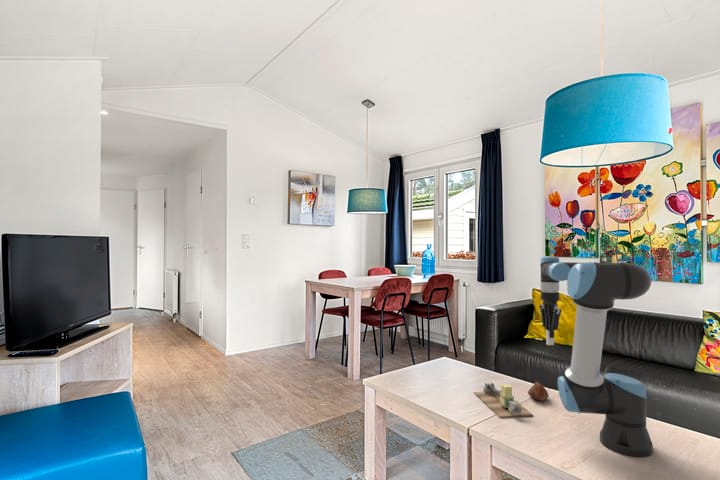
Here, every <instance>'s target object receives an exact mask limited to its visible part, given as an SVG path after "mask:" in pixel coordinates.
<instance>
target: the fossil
mask: <svg viewBox="0 0 720 480" xmlns="http://www.w3.org/2000/svg"><path fill="white" fill-rule="evenodd" d="M531 386H532V387H530V388H529V389H528V391H527V394H528V395H529V396H530V397H531V398H532V399H535V400H536V401H540V402H544V401H545V400H547V399H548V398H550V397H549V392H548V391H547V389H546V388H545V387H544V385H543V384H542V383H540V382H537V381H535V382H534V384H533V385H531Z"/></svg>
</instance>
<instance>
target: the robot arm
mask: <svg viewBox="0 0 720 480" xmlns="http://www.w3.org/2000/svg"><path fill="white" fill-rule="evenodd" d="M539 266H540V291H541V292H540V300H541V301H542V304H539V310H540V314H541V323H542V327H543V328H544V329H545V336H546V339H545V341H546V343H545V344H546V345H547V346H554V345H555V331H558V329H559V323H560V316H561V313H562V308H559V307H558V302H559V301H560V292H559V291H560V282H564V281H566V286H567V287H566V290H567V294H568V296H569V297H570V298H571V299H572V302H573V304H574V305H575V306H576V313H575V321H574V322H575V324H574V332H573V340H572V341H573V342H572V353H571V361H570V366H568V367H567V368H566V369H565V372H564V375H561V376H558V378H557V389H558V395H559V398H560V401H561V404H562V405H563V408H564V409H565V410H566V411H568V412H572V413H577V414H593V415H594V414H596V415H597V414H598V415H605V417H604V418H605V419H604V422H603V424H602V427H601V430H600V432H599V442H600V443H601V444H602V445H603V446H604V447H606V448H607V449H609V450H611V451H614V452H616V453H619V454H621V455H625V456H631V457H636V458H637V457H639V458H641V457H643V458H644V457H649V456H651V455H652V454H653V453H654V445H653V441H652V440H651V437H650V433H649V431H648V429H647V398H648V397H647V392H646V389H647V388H646V386H645V384H644V383H643V382H641V381H640V380H638V379H636V378H634V377H631V376H627V375H625V374H621V373H612V372H609V373H606V374H605V375H604V377H603V376H602V374H600V370H601V363H602V362H601V361H602V355H603V354H602V353H603V345H604V340H605V339H604V338H605V330H606V322H607V315H608V314H607V313H608V311H610V310H612V309H613V308H614V304H615V300H634V299H637V298H639V297H642V296H643V295H645V294H646V293H647V292H648V291H649V290H650V288H651V285H652V278H651V275H650V273H649V272H648V270H647V269H646V268H644V267H642V266H641V265H639V264H638V265H637V264H635V263H629V262H596V261H594V262H592V261H588V262H570V261H569V262H568V261H567V262H566V261H565V262H564V261H563V262H562V261H561V262H560V258H559V257H558V256H542V257H541V258H540V264H539Z"/></svg>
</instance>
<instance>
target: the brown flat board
mask: <svg viewBox="0 0 720 480" xmlns="http://www.w3.org/2000/svg"><path fill="white" fill-rule="evenodd" d="M473 394H474V395H475V396H476V397H477V398H478V399H479V400H480V401H481V402H482V403H484V405H485V406H486V407H488V408H489V409H490V410H491V411H492V412H493V413H494V414H495V415H496V416H497V417H498V418H499V419H509V418H510V419H511V418H526V417H527V418H528V417H530V418H531V417H534V414H533V413H531V411H529V410H528V409H527V408H525V407H524V406H523V405H522V403H520V401H518V400H516V399H514V400H513V399H506V406H507V407H506V408H504V407H503V406H502V405H501V404H500V394H502V390H498V389H496V387H495V383H493V382H490V383H488V382H485V383H484V387H483V391H473Z"/></svg>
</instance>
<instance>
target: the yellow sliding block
mask: <svg viewBox="0 0 720 480" xmlns="http://www.w3.org/2000/svg"><path fill="white" fill-rule="evenodd" d="M501 391H502V394H500V404H501V405H502V406H503V407H504V408H506V407H507V406H506V399H513V400H515V397H514V396H513V386H511V385H510V384H507V383H506V384H501Z"/></svg>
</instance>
